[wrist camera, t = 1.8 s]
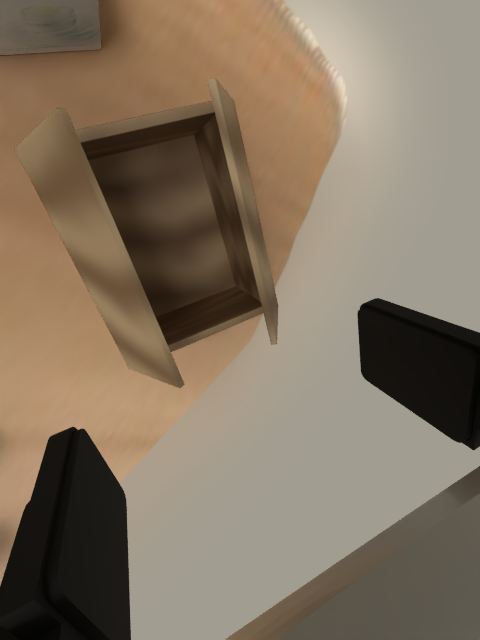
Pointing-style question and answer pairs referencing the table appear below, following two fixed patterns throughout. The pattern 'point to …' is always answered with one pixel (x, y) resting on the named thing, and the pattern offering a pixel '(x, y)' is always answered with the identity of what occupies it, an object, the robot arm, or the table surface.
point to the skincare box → (49, 26)
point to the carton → (177, 218)
